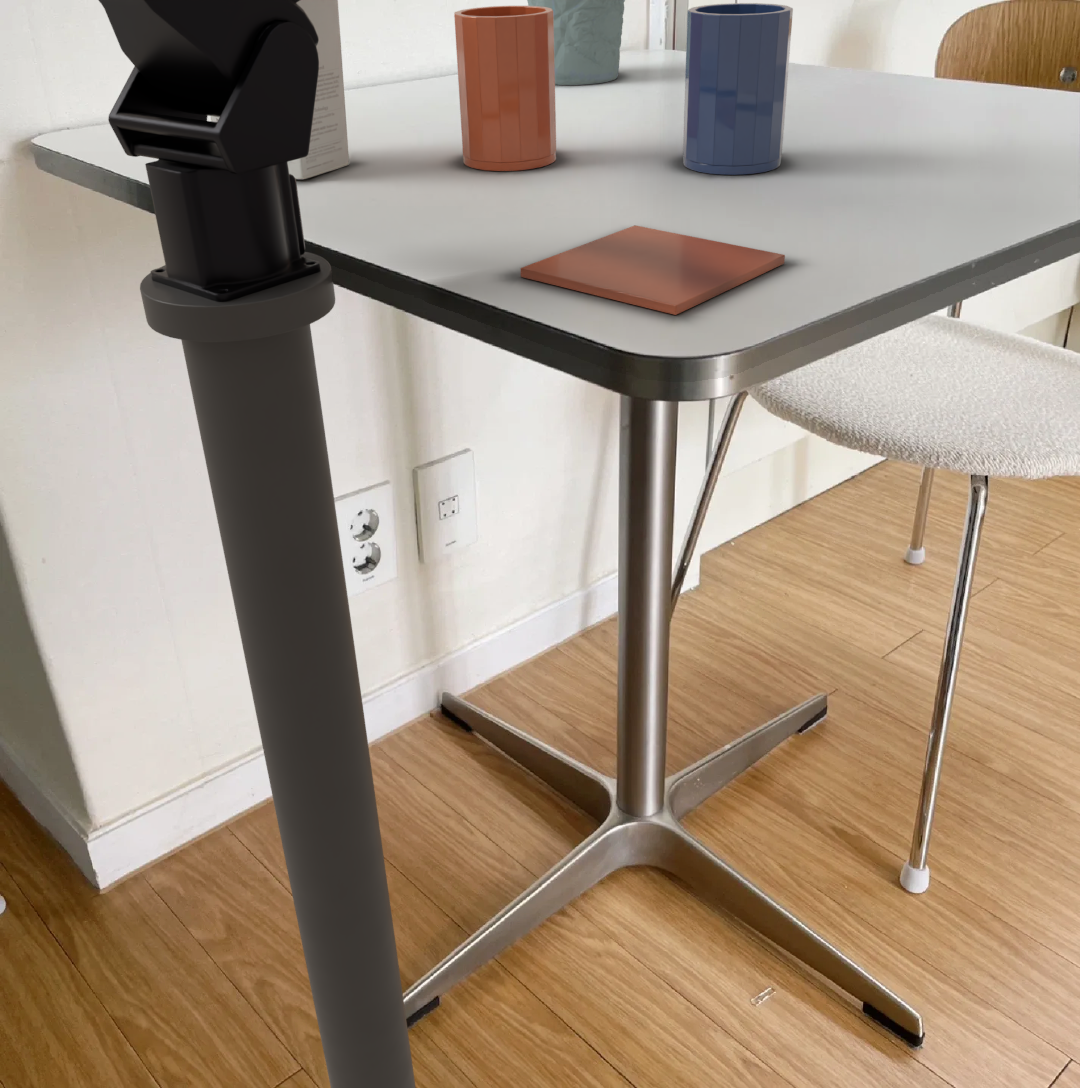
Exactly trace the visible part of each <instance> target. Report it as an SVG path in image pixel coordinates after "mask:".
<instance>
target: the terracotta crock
mask: <svg viewBox="0 0 1080 1088" xmlns="http://www.w3.org/2000/svg"><path fill="white" fill-rule="evenodd" d="M453 13H454V14H453V15H454V16H453V18H454V30H455V33H454V34H455V46H456V47H455V48H456V49H455V50H456V63H457V64H456V65H457V79H458V95H459V97H458V98H459V110H460V111H459V112H460V113H459V114H460V127H461V146H462V161H463V164H464V165H465V166H466V167H469V168H470V169H471V168H472V169H476V170H481V171H489V172H515V171H517V172H518V171H527V170H533V169H539V168H542V167H546V166H549V165H551V164H553V163H554V162H556V160H557V118H556V115H557V114H556V113H557V111H556V85H555V64H554V18H553V10H552V8H547V7H541V6H528V5H493V6H480V7H472V8H463V9H461V10H457V11H454V12H453Z"/></svg>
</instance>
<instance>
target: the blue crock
mask: <svg viewBox="0 0 1080 1088" xmlns="http://www.w3.org/2000/svg"><path fill="white" fill-rule="evenodd" d="M793 14H794V8H793V7H791V6H789V5H785V4H777V3H758V2H735V3H733V2H731V3H716V4H704V5H699V6H692V7H691V8H689V9H687V14H686V15H687V17H686V45H685V46H686V47H685V76H684V77H685V79H684V103H683V104H684V106H683V107H684V109H683V137H682V155H683V158H682V159H683V160H682V161H683V162H682V163H683V166H684V167H685V168H687V169H689V170H691V171H694V172H697V173H703V174H709V175H723V176H724V175H725V176H734V175H735V176H740V175H741V176H742V175H756V174H762V173H766V172H770V171H773V170H775V169H778V168H779V167H780V166H781V163H782V155H783V145H784V134H785V133H784V131H785V119H786V105H787V93H788V92H787V91H788V80H789V65H790V54H791V53H790V52H791V39H792V27H793Z"/></svg>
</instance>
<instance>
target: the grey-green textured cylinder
mask: <svg viewBox="0 0 1080 1088" xmlns="http://www.w3.org/2000/svg"><path fill="white" fill-rule="evenodd" d="M526 1H527V6H541V7H547V8H552V10H553V18H554V64H555V86H556V85H557V86H580V85H583V86H584V85H594V84H602V83H608V82H611V81H612V82H613V81H614V80H616V79H617V78H618V77H619V72H620V71H619V70H620V59H621V46H622V35H623V26H624V25H623V23H624V13H625V2H626V0H526Z"/></svg>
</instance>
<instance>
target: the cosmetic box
mask: <svg viewBox="0 0 1080 1088" xmlns="http://www.w3.org/2000/svg"><path fill="white" fill-rule="evenodd" d="M297 4H298V5H299V6H300V7H301V8H302V9H303V10H304V11H305V13H306V14H307V16H308V17H309V19H310V20H311V22H312V23H313V25H314V27H315V30H316V32H317V35H318V38H319V41H318V44H317V46H316V48H317V52H318V58H319V72H318V80H317V89H316V97H315V105H314V113H313V121H312V129H311V137H310V145H309V153H308V155H307V156H306V157H303V158H299V159H296V160H292V161H288V169H289V174H291V175H293V176H294V177H295V178H296V180H307V179H310V178H314V177H316V176H319V175H322V174H325V173H328V172H332V171H335V170H339V169H341V168H343V167H347V166H349V165H350V155H349V153H350V152H349V140H348V128H347V127H348V126H347V111H346V99H345V82H344V70H343V54H342V41H341V40H342V39H341V26H340V14H339V0H300V1H298V2H297ZM219 118H220V117H214V116H210V121H211V122H218V120H219Z"/></svg>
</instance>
